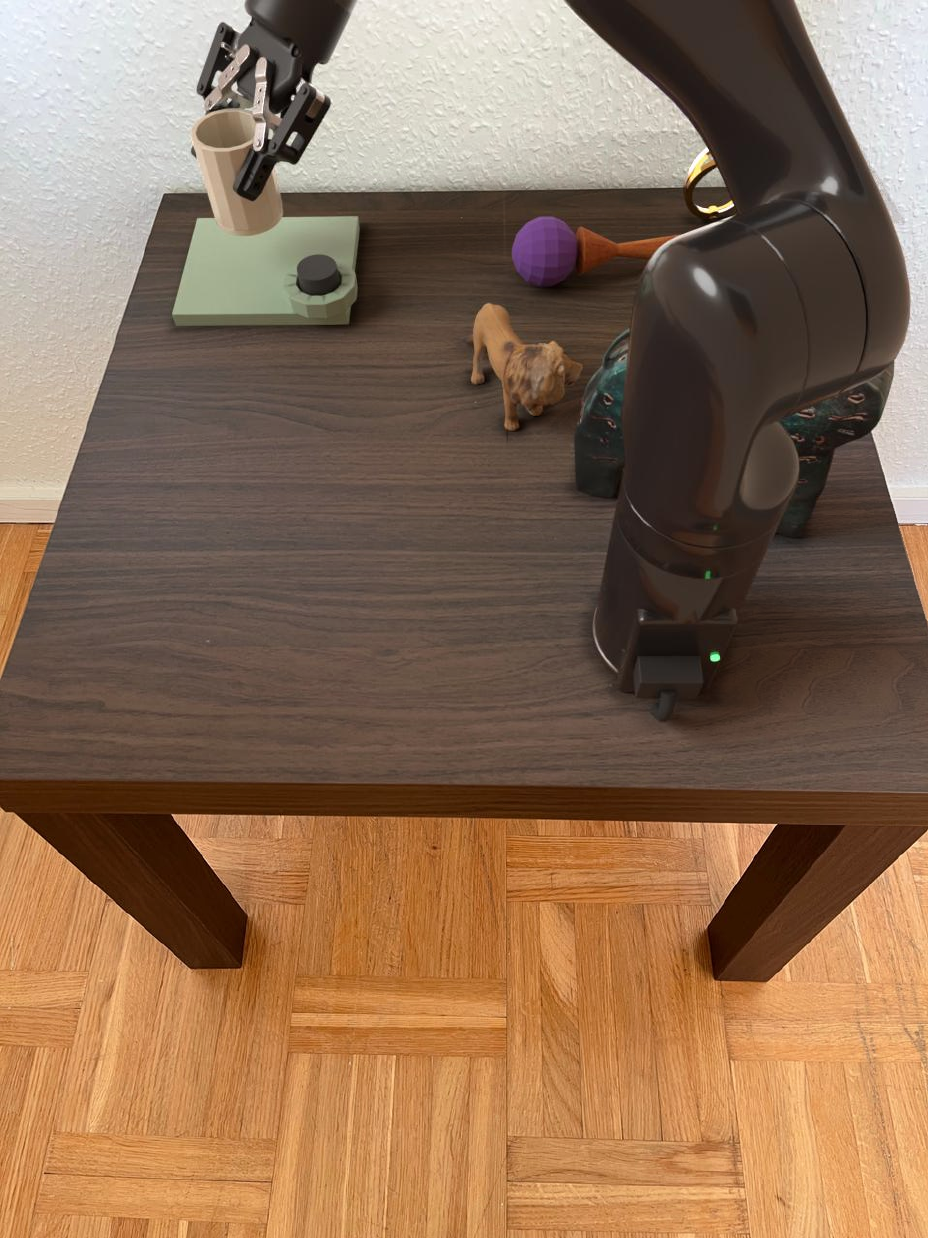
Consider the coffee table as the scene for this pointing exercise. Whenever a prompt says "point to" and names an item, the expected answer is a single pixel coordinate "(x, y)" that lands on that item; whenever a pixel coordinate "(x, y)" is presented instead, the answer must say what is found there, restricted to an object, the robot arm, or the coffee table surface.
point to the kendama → (569, 250)
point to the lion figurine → (519, 364)
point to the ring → (692, 180)
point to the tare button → (318, 275)
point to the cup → (233, 172)
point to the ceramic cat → (808, 428)
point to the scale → (266, 274)
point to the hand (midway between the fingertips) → (221, 177)
